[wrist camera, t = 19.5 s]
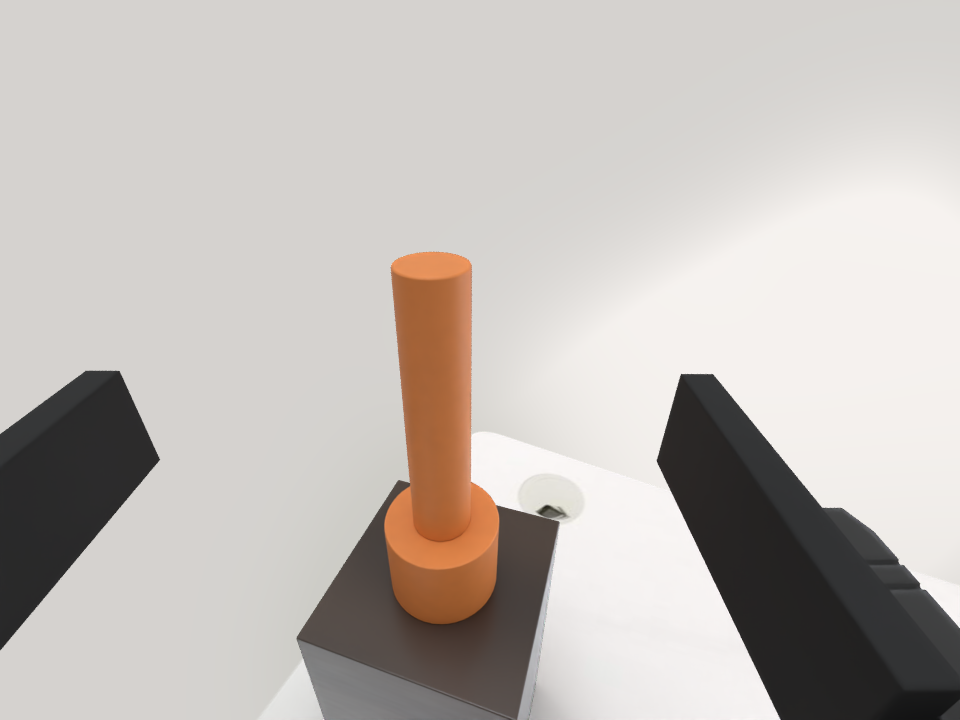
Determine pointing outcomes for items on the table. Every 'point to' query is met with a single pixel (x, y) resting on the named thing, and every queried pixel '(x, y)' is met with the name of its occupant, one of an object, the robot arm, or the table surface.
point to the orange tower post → (438, 448)
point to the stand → (431, 635)
